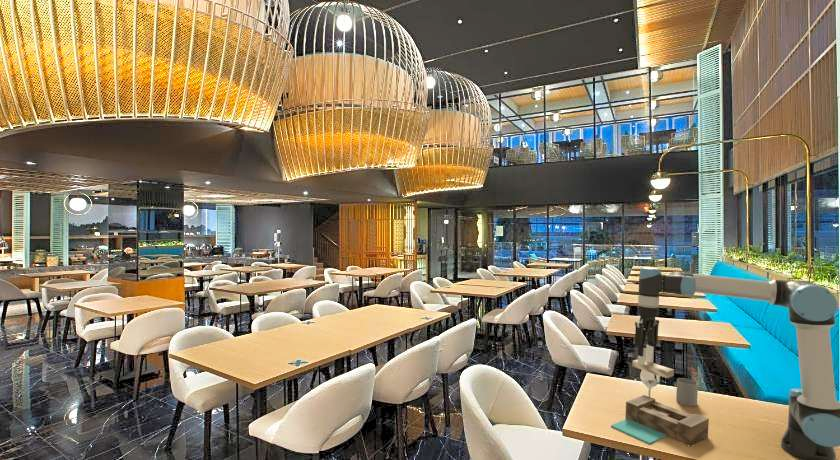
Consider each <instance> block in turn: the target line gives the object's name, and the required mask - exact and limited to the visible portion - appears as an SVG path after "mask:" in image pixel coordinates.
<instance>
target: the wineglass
mask: <svg viewBox="0 0 840 460" xmlns="http://www.w3.org/2000/svg"><path fill="white" fill-rule="evenodd" d="M640 370H641V369H640ZM639 379H640V380H641V382H642V383H643V384H644V385H645V386H646V387H647V389H648V393H647V394H648V395H647V396H648V397H651V389H652V388H654V387H656V386H658V385H659V383H660V381H661V376H659V375H656V374H653V373H650V372H647V371H644V370H641V371H640V375H639Z"/></svg>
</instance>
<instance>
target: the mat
mask: <svg viewBox="0 0 840 460" xmlns="http://www.w3.org/2000/svg"><path fill="white" fill-rule="evenodd" d="M610 427H611V428H612V429H615V430H618V431H619V432H621V433H624V434H626V435H628V436H630V437H632V436H633V438H634V439H637V440H639V441H641V442H643V441H644V442H643V443H645V442H646V443H645V444H648V445H651V444H654V443H656V442H657V440H658V441H659V439H660V440H661V439H663V438H666V437H667V436H666V435H665V434H663V433H661V432H658V431H656V430H654V429H651V428H649V427H647V426H644V425H642V424H639V423H637V422H635V421H632V420H630V419H623V420H620V421H618V422H616V423H613V424H611V425H610ZM655 441H656V442H655ZM653 442H654V443H653Z"/></svg>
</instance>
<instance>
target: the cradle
mask: <svg viewBox="0 0 840 460" xmlns="http://www.w3.org/2000/svg"><path fill="white" fill-rule="evenodd" d="M625 419H630V420H632V421H635V422H637V423H639V424H642V425H644V426H647V427H649V428H651V429H654V430H656V431H658V432H661V433H663V434H665V435H666V437H667V438H669V439H672V440H674V441H676V442H679V443H681V442H682V443H681V444H683V443H684V445H685V444H686V446H688V445H689V446H688V447H690V446H691V447H692V445H693V446H694V444H695V445H696V444H698V443H700V442H702V441H704V440H705V439H708V437H709V420H710V419H709V418H708V417H706V416H703V415H700V414H697V413H693V414H690V413H687V412H685V411H683V410H679V409H678V408H675V407H671V406H668V405H666V404H663V403H661V402H658V401H656V398H653V397H651V396H650V397H648V395H645V394H644V395H640V396H638V397H635V398H632V399H630V400H627V401H625ZM625 419H624V420H625Z"/></svg>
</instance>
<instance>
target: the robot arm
mask: <svg viewBox="0 0 840 460" xmlns="http://www.w3.org/2000/svg"><path fill="white" fill-rule="evenodd" d="M660 293H663V294H664V293H665V294H671V295H680V296H681V295H683V296H695V293H698V294H699V293H700V294H708V295H714V296H715V295H716V296H723V297H730V298H736V299H737V298H738V299H745V300H746V299H747V300H752V301H762V302H768V303H769V304H770V305H773V306H780V307H784V308H787V309H788V315H789V323H791V324H792V325H794V326H795V331H796V332H795V333H796V342H797V353H798V363H799V374H800V387H801V388H791V389H790V390H789V394H788V399H789V400H788V418H787V419H788V420H787V428H786V430H785V431H784V434H783V435H782V437H781V440H780V447H781V448H782V449H783V450H784V451H785V452H786V453H789V454H790V455H792V456H794V457H797V458H799V459H802V460H835V459H836V458H837V455H836V451H835V448H837V447H840V401H838V399H837V398H836V397H837V396H836V387H835V375H834V366H833V365H834V364H833V353H832V345H831V343H832V342H831V332H830V331H831V330H830V329H831V328H832V327H834V326H835V325H836V321H835V320H836V319H835V318H836V317H835V315H836V313H837V311H838V308H839V306H838V305H839V303H838V300H837V297H836V296H835V295H834V293H832V291H830V289H828V288H826V287H824V286H822V285H819V284H818V283H817V284H816V283H813V282H810V281H807V280H783V279H782V280H781V279H772V280H770V281H766V280H756V279H746V278H745V279H744V278H736V277H728V276H718V275H709V274H699V273H690V272H682V271H678V270H675V271H672V272H671V273H669V274H668V273H667V274H666V273H662V271H661V268H656V267H647V266H646V267H641V268H640V269H639V277H638V295H637V298H638V301H637V303H638V305H637V315H639V321H638V322H637V321H635V323H634V326H635V330H634V331H635V332H634V346H635V347H636V348H637V359H638V362H637V363H640V364H643V365H645V361H648V362H651V363H654V354H655V353H654V348H655V347H657V346H658V340H659V339H658V338H659V324H660V320H659V319H656V318H658V316H659V312H660V311H659V310H660V309H659V306H660ZM646 341H647V342H646ZM646 343H647V344H646ZM836 460H837V459H836Z"/></svg>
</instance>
